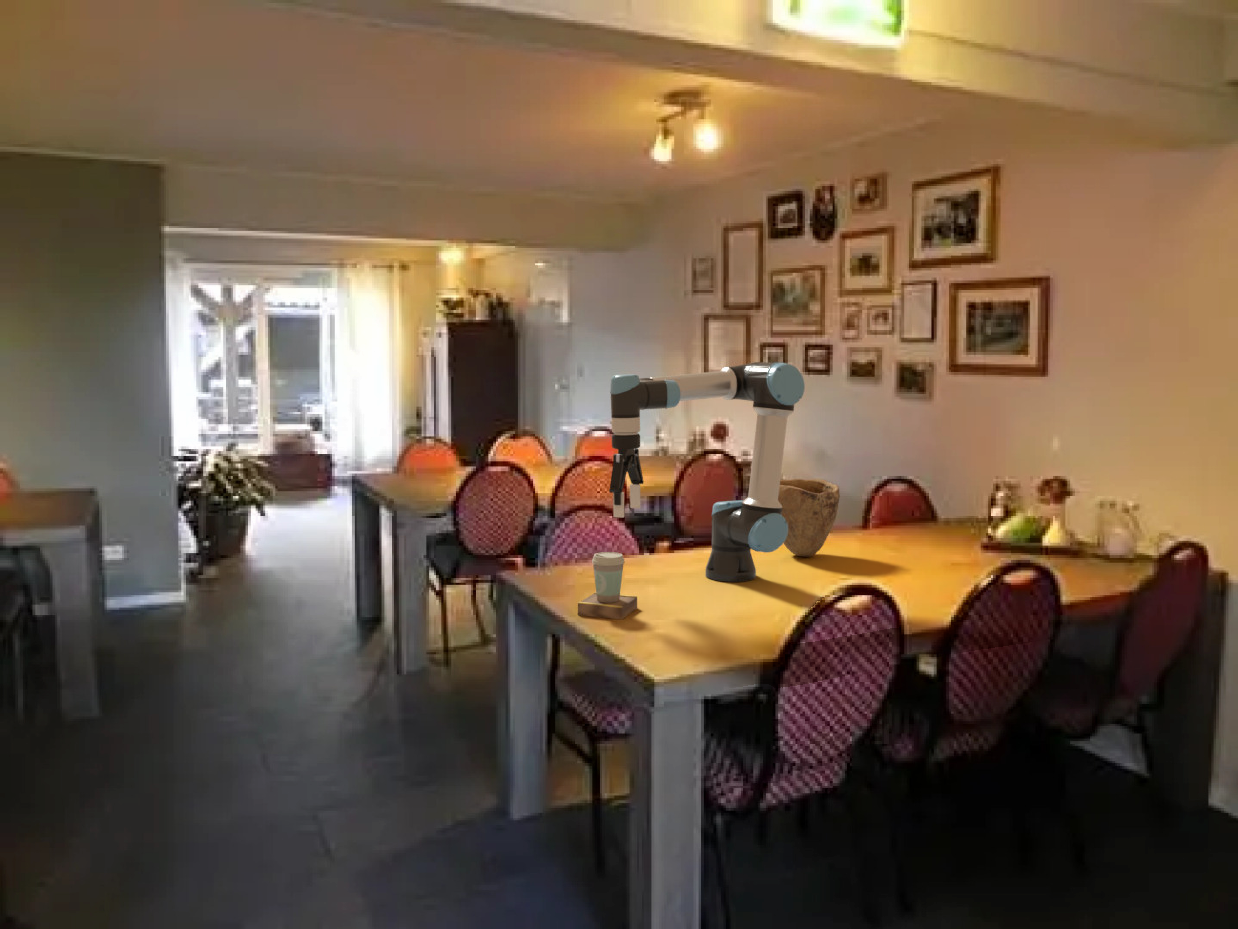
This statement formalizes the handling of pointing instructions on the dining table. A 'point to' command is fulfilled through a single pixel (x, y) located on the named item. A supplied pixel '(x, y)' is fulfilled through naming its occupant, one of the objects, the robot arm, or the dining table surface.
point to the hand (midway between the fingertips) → (627, 512)
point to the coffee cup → (608, 575)
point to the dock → (607, 607)
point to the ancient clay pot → (808, 513)
